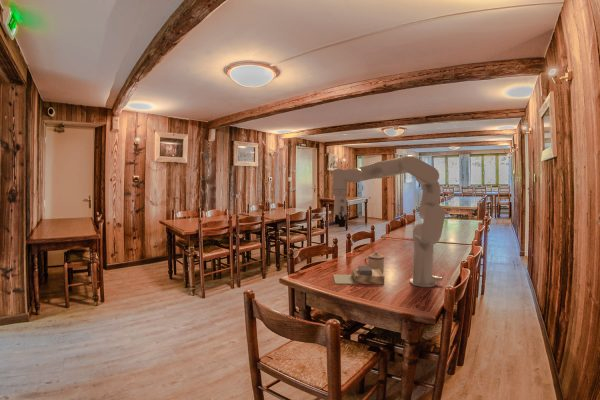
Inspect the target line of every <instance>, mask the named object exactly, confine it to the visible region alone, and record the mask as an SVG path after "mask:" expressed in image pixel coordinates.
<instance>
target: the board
mask: <svg viewBox="0 0 600 400" xmlns="http://www.w3.org/2000/svg"><path fill="white" fill-rule="evenodd" d="M351 270H352V271H351V276H352V278H353V281H354V283H355V284H357V285H360V284H361V285H362V284H363V285H365V284H366V285H385V275H384V274H383V272H381V271H380V270H379V269H371V270H372V275H360V273H359V271H358V268H351ZM355 284H354V285H355Z"/></svg>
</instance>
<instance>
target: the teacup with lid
mask: <svg viewBox="0 0 600 400" xmlns="http://www.w3.org/2000/svg"><path fill="white" fill-rule="evenodd" d="M363 260H364V261H363V262H364V264H365V266H369V267H370V268H371V269H379V270H380V271H381V272H382V273H384V272H385V271H384V266H385V265H384V264H385V263H384V260H385V257H384V255H383V254H380V253H379V252H378V251H374V252H373V253H372V254H368V257H365V258H364V259H363ZM366 260H368V263H367V261H366Z"/></svg>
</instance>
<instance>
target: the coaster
mask: <svg viewBox="0 0 600 400" xmlns="http://www.w3.org/2000/svg"><path fill="white" fill-rule="evenodd" d="M357 269H358V271H359V273H360V275H372V270H371V268H370V267H369V266H367V265H357Z"/></svg>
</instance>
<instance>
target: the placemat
mask: <svg viewBox="0 0 600 400" xmlns="http://www.w3.org/2000/svg"><path fill="white" fill-rule="evenodd" d="M332 275H333V280H334V281H333V282H334V284H335V285H355V282H354V279H353V277H352V274H336V273H335V274H334V273H333V274H332Z"/></svg>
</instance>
